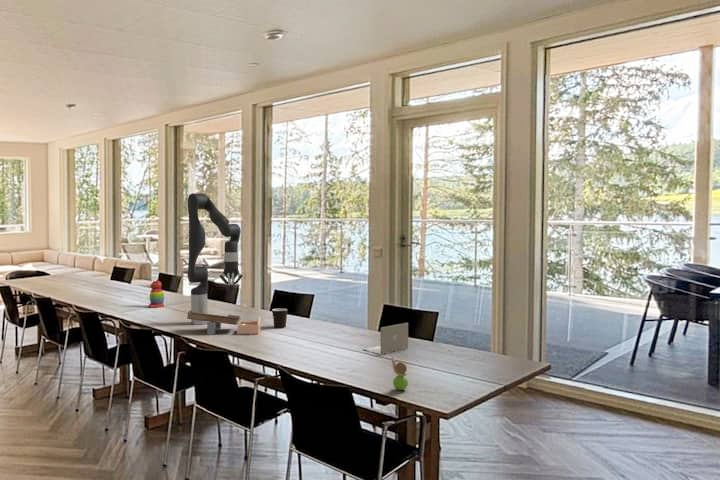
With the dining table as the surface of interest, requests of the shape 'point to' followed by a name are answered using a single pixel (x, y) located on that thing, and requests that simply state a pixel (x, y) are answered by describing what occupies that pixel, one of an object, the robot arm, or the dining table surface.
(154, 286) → the stacking bear
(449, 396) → the dining table surface
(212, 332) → the lever stand
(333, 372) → the dining table surface
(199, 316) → the lever
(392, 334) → the laptop
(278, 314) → the coffee mug
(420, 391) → the dining table surface
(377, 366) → the dining table surface
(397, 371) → the snail figurine
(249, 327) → the cup
